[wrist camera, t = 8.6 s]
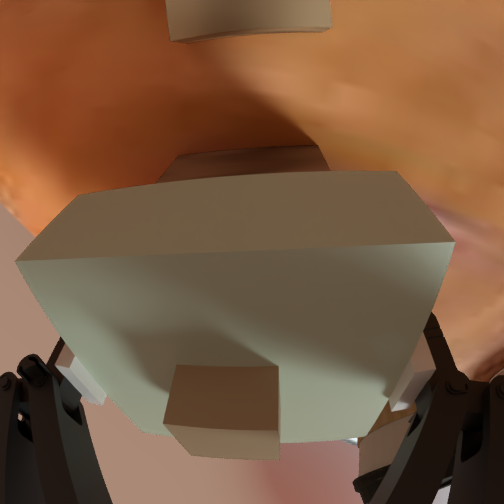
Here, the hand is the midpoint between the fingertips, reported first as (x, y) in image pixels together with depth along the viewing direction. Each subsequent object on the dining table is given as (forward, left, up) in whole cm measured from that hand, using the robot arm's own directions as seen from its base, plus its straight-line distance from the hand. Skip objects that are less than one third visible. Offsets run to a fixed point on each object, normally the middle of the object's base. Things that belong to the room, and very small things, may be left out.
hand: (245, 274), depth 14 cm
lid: (0, 0, +2) cm, 2 cm away
